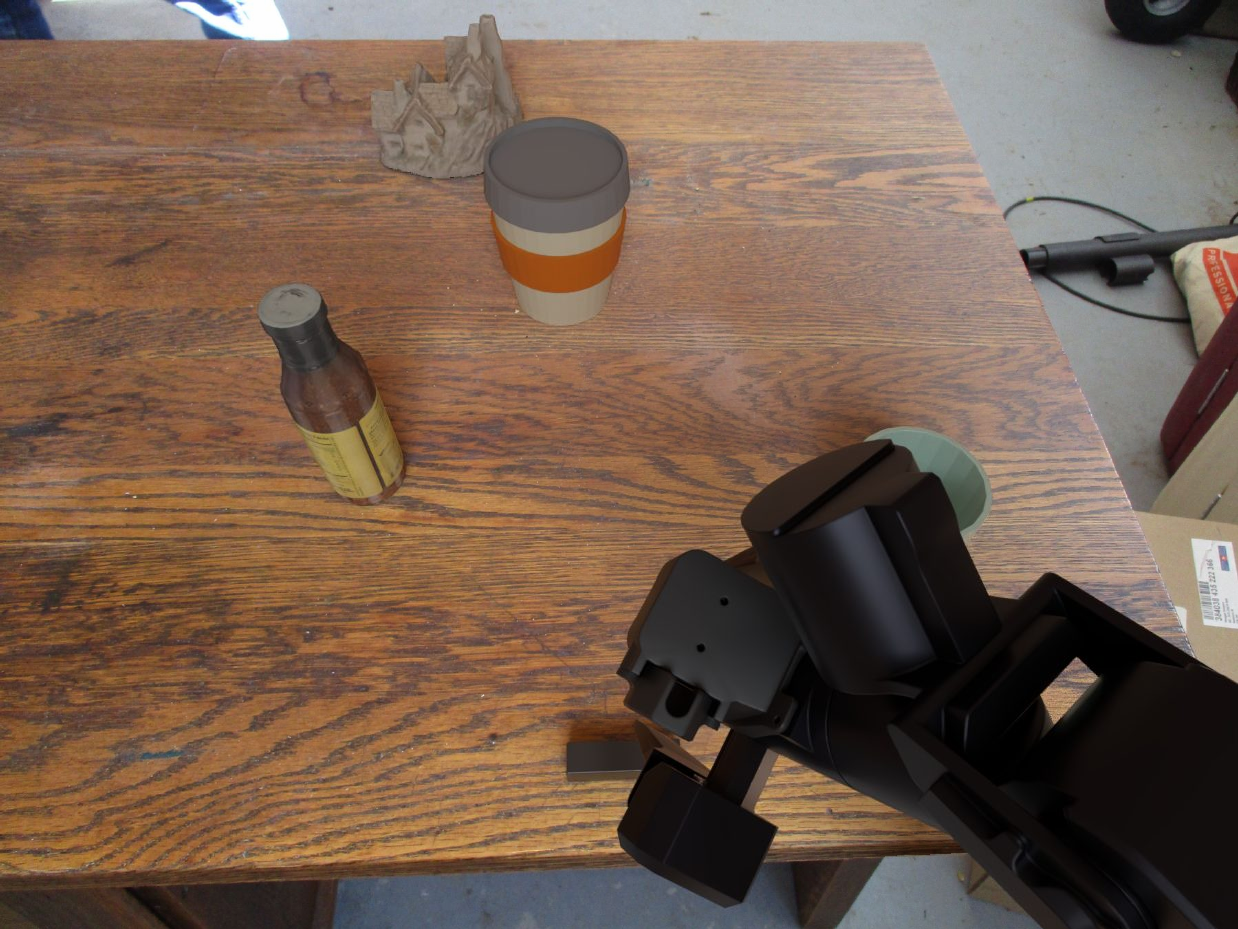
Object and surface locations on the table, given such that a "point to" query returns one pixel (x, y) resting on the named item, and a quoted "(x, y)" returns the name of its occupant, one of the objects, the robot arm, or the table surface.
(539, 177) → the reusable coffee cup
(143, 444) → the table surface
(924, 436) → the cup
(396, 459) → the sauce bottle
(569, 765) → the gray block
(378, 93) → the ceramic cottage
